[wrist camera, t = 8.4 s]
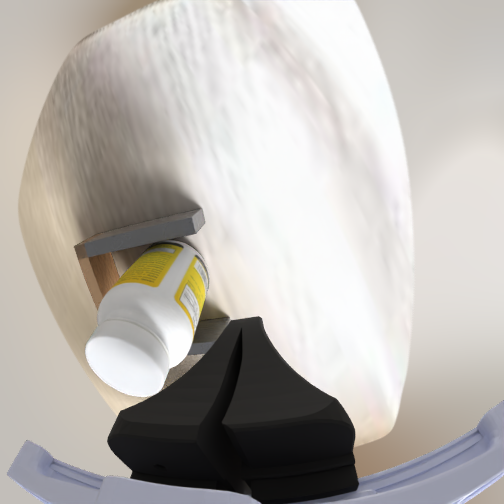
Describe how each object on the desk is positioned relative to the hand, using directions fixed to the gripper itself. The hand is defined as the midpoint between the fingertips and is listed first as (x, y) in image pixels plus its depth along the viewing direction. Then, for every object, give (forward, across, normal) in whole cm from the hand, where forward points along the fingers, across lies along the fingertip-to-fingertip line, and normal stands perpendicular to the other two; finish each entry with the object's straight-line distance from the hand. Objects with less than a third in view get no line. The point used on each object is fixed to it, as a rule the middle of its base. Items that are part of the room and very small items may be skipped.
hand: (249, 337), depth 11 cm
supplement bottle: (+8, +6, -1) cm, 10 cm away
